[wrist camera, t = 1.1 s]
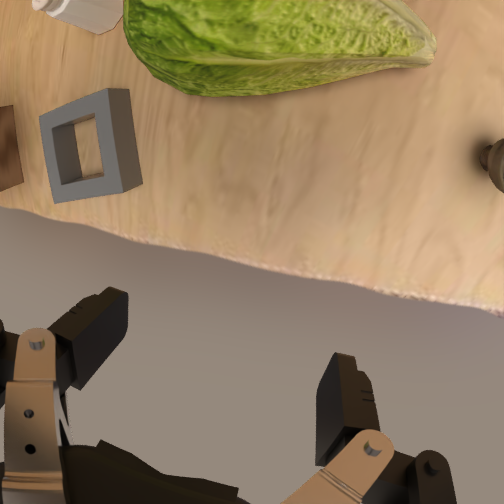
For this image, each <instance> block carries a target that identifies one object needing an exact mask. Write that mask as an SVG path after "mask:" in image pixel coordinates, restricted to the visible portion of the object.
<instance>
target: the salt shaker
mask: <svg viewBox="0 0 504 504" xmlns="http://www.w3.org/2000/svg"><path fill="white" fill-rule="evenodd" d="M32 7H33V9H34V10H41V11H46V14H48V15H50V16H51V17H53V18H55V19H58V20H61V21H64V22H66V23H69V24H72V25H75V26H77V27H80V28H83V29H85V30H88V31H90V32H93V33H95V34H98V35H99V34H102V33H104V32H107V31H109V30H112V29H113V28H114V27H115V26H116V24H117V23H118V21H119V20H120V18H121V17H122V16H123V0H32Z"/></svg>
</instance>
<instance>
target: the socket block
mask: <svg viewBox="0 0 504 504" xmlns="http://www.w3.org/2000/svg"><path fill="white" fill-rule="evenodd" d="M94 117H95V120H96V127H97V134H98V141H99V147H100V153H101V159H102V165H103V170H104V173H100V174H95V175H90V176H86V177H82V173H81V167H80V162H79V156H78V150H77V144H76V138H75V131H74V124H76V123H79V122H82V121H85V120H88V119H91V118H94ZM39 122H40V129H41V137H42V143H43V150H44V156H45V161H46V167H47V172H48V177H49V182H50V187H51V191H52V196H53V200H54V204H57V203H62V202H68V201H74V200H80V199H86V198H92V197H98V196H105V195H111V194H118V193H124V192H126V191H128V190H130V189H132V188H135V187H137V186H139V185H141V184H143V182H142V176H141V170H140V165H139V159H138V152H137V146H136V139H135V133H134V125H133V118H132V110H131V102H130V94H129V89H113V88H107V89H104V90H101V91H99V92H96V93H93V94H91V95H88V96H85V97H83V98H80V99H78V100H75V101H73V102H70V103H68V104H66V105H63V106H61V107H59V108H56V109H54V110H52V111H50V112H48V113H45V114H43V115H41V116H39Z"/></svg>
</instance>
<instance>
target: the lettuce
mask: <svg viewBox="0 0 504 504" xmlns="http://www.w3.org/2000/svg"><path fill="white" fill-rule="evenodd" d="M123 29H124V32H125V35H126V38H127V42H128V45H129V46H130V48H131V49H132V51H133V52H134V54H135V55H136V57H137V58H138V59H139V60H140V61H141V62H142V63H143V64H144V65H145V66H146V67H147V68H148V70H149V71H150V72H151V74H152V75H153V76H154V77H155V78H157V79H159V80H161V81H163V82H165V83H167V84H169V85H171V86H172V87H174V88H176V89H178V90H180V91H182V92H184V93H185V94H190V95H200V96H209V97H221V96H248V95H266V94H272V93H277V92H283V91H290V90H296V89H303V88H309V87H313V86H317V85H322V84H326V83H330V82H334V81H339V80H343V79H347V78H351V77H355V76H359V75H363V74H367V73H371V72H375V71H379V70H383V69H388V68H392V67H400V68H425V67H427V66H429V65H430V64H431V63H432V61H433V59H434V56H435V53H436V38H435V36H434V35H433V33H432V32H431V31H430V29H429V28H428V27H427V25H426V24H425V23H424V22H423V21H422V20H421V19H420V18H419V17H418V16H417V15H416V14H415V13H414V12H413V11H412V10H411V9H410V8H409V7H408V6H407V5H406V4H405V3H404V2H403V1H402V0H124V10H123Z"/></svg>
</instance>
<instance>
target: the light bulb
mask: <svg viewBox="0 0 504 504" xmlns="http://www.w3.org/2000/svg"><path fill="white" fill-rule="evenodd" d="M480 163H481V165H482V167H483V168H484V169H485V170H486V171H489V176H490V178H491V180H492V182H493V183H494V185H495V186H496V187H497V188H498V189H499V190H500V191H501V192H503V193H504V139H501V140H499V141H497V142H496V143H495V144H494V145H493V146H490V145H489V146H487V147H485V149H484V150H483V152H482V153H481V156H480Z"/></svg>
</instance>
